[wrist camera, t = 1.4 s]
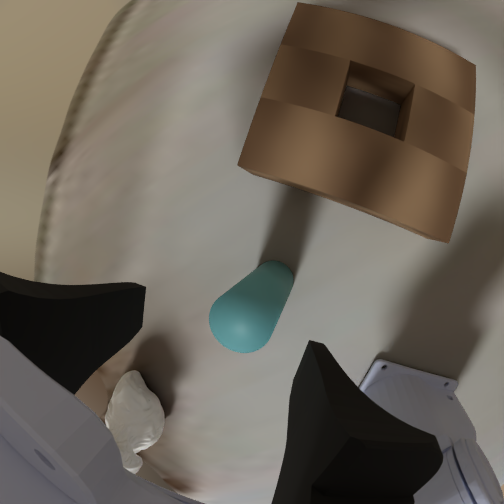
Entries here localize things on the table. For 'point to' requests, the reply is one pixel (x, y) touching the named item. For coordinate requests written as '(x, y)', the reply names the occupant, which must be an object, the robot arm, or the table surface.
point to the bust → (134, 418)
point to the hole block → (361, 137)
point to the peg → (251, 308)
